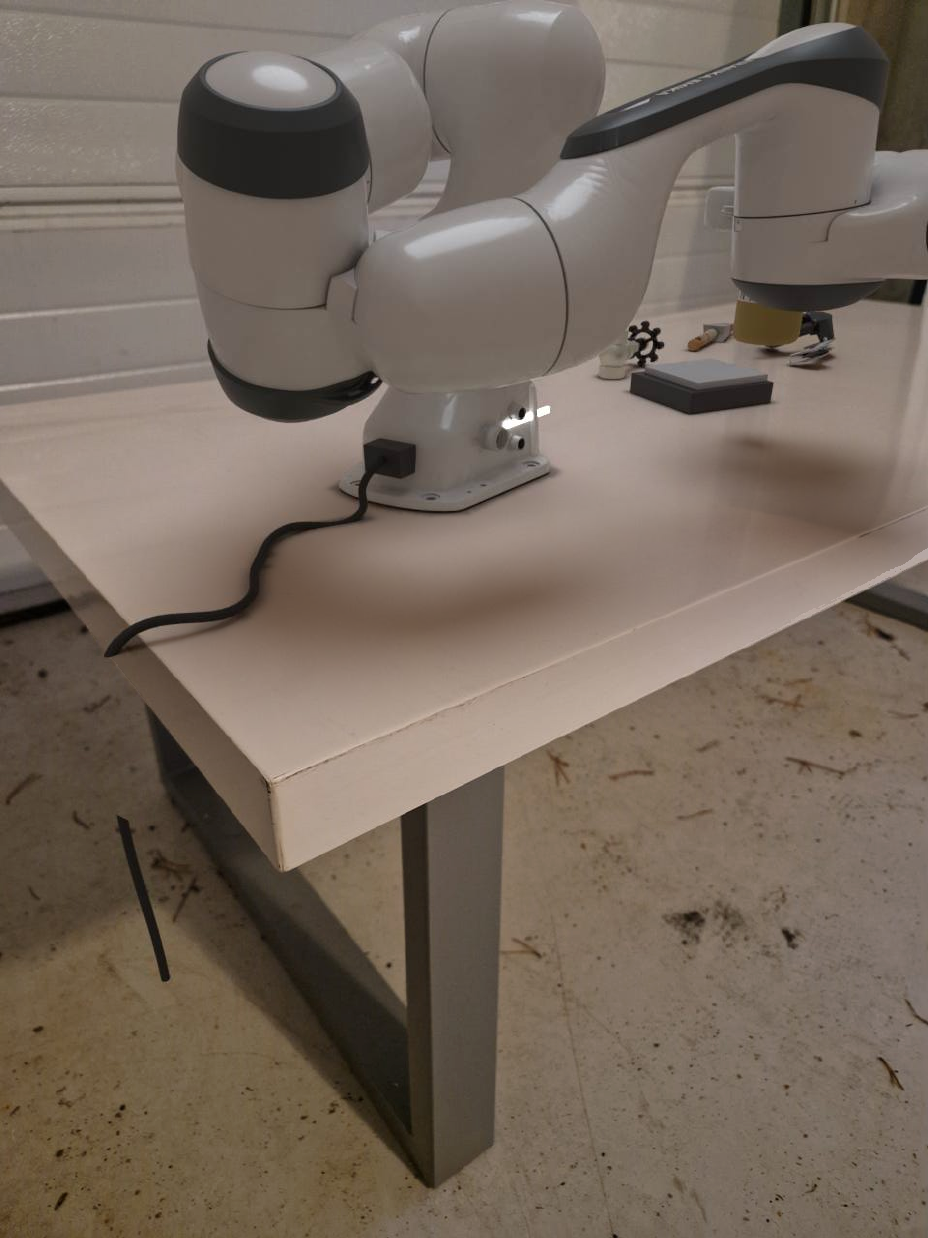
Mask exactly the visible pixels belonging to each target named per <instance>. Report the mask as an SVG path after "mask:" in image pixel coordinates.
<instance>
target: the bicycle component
mask: <svg viewBox="0 0 928 1238" xmlns="http://www.w3.org/2000/svg"><path fill="white" fill-rule="evenodd" d="M807 335H809V336H810V337H811V336H817V339H818V341H817V342H816V343H812V344H809V345H806V346H804V347H803V350H801V351H797V352H794V353H791V354H788V356H789V358H792V357H795V356H799V355H804V354H805V355H804V356H801V358H800V359H803V360H801V361H797V362H793V363H792V360H791V359H789V364H790V366H792V365H796V364H799V363H808V362H811V361H814V360H819V359H821V358H824V357H826V356H828V355H829V354H830V352H832V351H833V350H834V349H836V348H837V346H831V345H832V343H833V342H834V341H835V340H837V337H835V330H834V322H833V314H832V313H829V312H826V311H816V312H805V313H803V317H802V323H801V328H800V334H799V337H798V338H802V337H804V336H807ZM763 346H764V347H766V348H768V349H769V350H774V349H776V348H780V347H782V346H784V345H774V346H767V345H763Z"/></svg>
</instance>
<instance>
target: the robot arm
mask: <svg viewBox="0 0 928 1238" xmlns="http://www.w3.org/2000/svg"><path fill="white" fill-rule="evenodd" d="M890 69H891V62H890V60H889V58H888V57H887V55H886V53H885V52H884V50H883V49H882V47H881V46H880V45H879V43H878V42H877V41H876V39H875V38H874V37H873V36H872V35H871V33H869V32H868V31H867V29H866V28H864V27H863V25H861V24H859V25H858V24H857V25H854V24H851V23H848V22H838V21H837V22H822V23H817V24H812V25H811V24H810V25H807V26H803V27H801V28H797V29H794V30H791V31H789V32H787V33H785V34H783V35H781V36H778V37H777V38H775V39H774V40H772V41H770V42H768V43H767V44H766V45H763V47H761V48H760V49H757V50H755V51H752V52H750V53H748V54H746V55H743V56H742V57H739V58H737V59H735V60H733V61H731V62H728V63H726V64H723V65H721V66H718V67H716V68H713V69H710V70H707V71H705V72H702V73H700V74H697V75H694V76H692V77H690V78H687V79H684V80H682V81H678V82H676V83H674V84H672V85H668V86H666V87H663V88H661V89H659V90H658V89H657V90H656V91H653V92H650V93H648V94H646V95H645V94H644V95H643V96H641V97H638V98H636V99H635V98H634V99H633V100H630V101H628V102H627V103H623V104H622V105H619V106H617V107H615V108H612V109H610V110H607V111H606V112H603V113H600V114H598V113H599V110H600V108H601V105H602V102H603V98H604V93H605V88H606V74H607V73H606V72H607V71H606V58H605V52H604V48H603V44H602V41H601V38H600V35H599V33H598V31H597V30H596V27H595V25H594V23H593V22H592V20H591V19H590V17H589V16H588V15H587V13H586V12H585V11H584V10H582V9H581V7H580V8H579V7H578V6H576V5H571V4H565V3H560V2H555V1H548V0H503V1H496V2H489V3H482V4H475V5H467V6H463V7H462V6H461V7H454V8H453V7H452V8H445V9H439V10H431V11H424V12H418V13H410V14H405V15H404V14H403V15H398V16H394V17H392V18H390V19H388V20H385V21H382V22H380V23H377V24H376V25H373V26H371V27H369V28H367V29H365V30H363V31H361V32H359V33H357V34H355V35H353V36H352V37H351V38H350V39H349V40H348V41H347V43H345V44H343V45H340V46H337V47H334V48H331V49H328V50H325V51H322V52H319V53H317V54H314V55H311V56H308V57H302V56H300V55H295V54H291V53H286V52H283V51H277V50H269V49H268V50H267V49H258V50H257V49H256V50H241V51H234V52H229V53H224V54H220V55H218V56H215V57H213V58H211V59H209V60H207V61H206V62H205V63H203V64H202V66H201V67H200V68H199V69H198V70H197V72H195V74H194V75H193V76H192V77H191V79H190V80H189V82H188V83H187V84H186V85H185V87H184V88H183V90H182V92H181V97H180V102H179V106H178V116H177V130H176V148H175V158H174V171H175V178H176V182H177V187H178V191H179V194H180V197H181V199H182V202H183V211H184V224H185V225H184V227H185V236H186V246H187V253H188V261H189V265H190V268H191V269H192V272H193V275H194V276H193V277H194V281H195V288H196V292H197V297H198V301H199V306H200V311H201V315H202V319H203V322H204V326H205V330H206V333H207V336H208V338H207V344H206V347H207V354H208V357H209V360H210V363H211V366H212V369H213V372H214V374H215V377H216V378H217V381H218V384H219V385H220V387H221V389H222V391H223V392H224V394H225V396H226V397H227V399H228V400H229V401H230V402H231V403H232V404H233V405H234V406H236V407H237V408H239V409H241V410H242V411H244V412H246V413H249V414H251V415H254V416H257V417H259V418H261V419H264V420H267V421H271V422H275V423H283V424H297V423H298V424H299V423H307V422H310V421H314V420H319V419H321V418H324V417H328V416H330V415H334V414H336V413H338V412H340V411H343V410H344V409H346V408H348V407H349V406H353V405H355V404H358V403H360V402H362V401H364V400H365V399H367V398H369V397H370V396H372V395H373V394H374V393H375V392H376V391H377V390H378V389H379V388H380V387H381V385H382V384H383V383H384V384H385V385H387V386H388V387H387V388H386V390H385V391H384V393H383V395H382V396H381V398H380V399H379V401H378V402H377V405H375V407H374V409H373V410H372V412H371V413H370V415H369V416H368V418H367V419H366V420H365V422H364V425H363V431H362V447H361V449H362V450H361V451H362V453H361V454H362V455H361V457H362V460H361V461H360V462H358V464H356V465H355V466H354V467H352V468H351V469H349V470H348V471H347V472H345V473H344V474H343V475H341V476H340V477H339V481H338V487H339V489H341V491H343V492H345V493H346V494H348V495H350V496H352V497H355V498H358V502H359V506H358V509H357V510H356V511H355V512H354V513H353V514H351V515H350V516H349V517H346V518H344V519H339V520H335V521H334V520H333V521H311V520H310V521H307V520H306V521H294V522H289V523H286V524H283V525H282V526H280V527H277V528H276V529H275V530H273V531H271V532H270V533H269V534H268V535H267V536H266V537H265V538H264V540H263V541H262V543H261V545H260V547H259V549H258V552H257V554H256V555H255V558H254V560H253V561H252V563H251V565H250V569H249V587H248V590H247V593H246V594H245V595H244V597H242V599H240V600H239V601H237V602H235V603H234V604H232V605H230V606H227V607H224V608H220V609H215V610H207V611H206V610H205V611H194V612H178V613H177V612H176V613H167V614H161V615H160V614H159V615H155V616H152V617H147V618H144V619H142V620H139V621H137V622H134V623H133V624H131V625H129V626H128V627H126V628H125V629H123V630H122V631H121V632H120V633H119V634H118V635H116V636H115V638H113V640H112V641H111V643H110V644H109V645H108V646H107V648H106V649H105V652H104V654H103V657H104V658H108V659H109V658H112V657H115V656H116V655H118V654H119V652H121V650H122V648H123V647H124V646H125V645H126V644H127V643H128V642H129V641H130V640H132V639H133V638H134V637H137V636H138V635H140V634H141V633H143V632H146V631H148V630H151V629H154V628H159V627H165V626H172V625H173V626H174V625H184V624H185V625H186V624H200V623H211V622H217V621H224V620H226V619H229V618H234V617H235V616H237V615H238V614H241V613H243V612H244V611H245V610H246V609H248V608H249V607H250V606H251V605H252V604H253V603H254V602H255V601H256V599H257V598H258V596H259V591H260V572H261V569H262V567H263V565H264V563H265V561H266V559H267V557H268V554H269V552H270V549H271V547H272V545H273V544H274V542H276V541H277V540H278V539H280V538H282V537H283V536H286V535H287V534H289V533H291V532H294V531H305V530H317V529H322V528H328V527H335V526H341V525H346V524H352V523H356V522H358V521H360V520H361V519H362V518H363V517H364V516H365V514H366V513H367V511H368V507H369V506H368V505H369V502H372V503H377V504H381V505H385V506H390V507H396V508H403V509H409V510H416V511H418V510H419V511H430V512H456V511H461V510H464V509H467V508H469V507H471V506H474V505H476V504H478V503H480V502H483V501H485V500H487V499H491V498H493V497H495V496H497V495H500V494H501V493H504V492H507V491H509V490H511V489H513V488H516V487H518V486H521V485H523V484H525V483H527V482H530V481H532V480H534V479H536V478H539V477H541V476H543V475H546V474H548V473H550V471H551V466H550V460H549V459H548V458H547V457H545V456H544V455H541V453H540V437H539V435H540V434H539V418H540V417H543V416H544V415H547V414H550V410H551V409H550V408H551V406H549V405H546V406H543V407H540V408H538V391H537V387H536V386H535V384H534V382H533V380H537V379H540V378H544V377H548V376H551V375H555V374H558V373H561V372H562V373H563V372H565V371H567V370H568V371H569V370H571V369H573V368H576V367H579V366H581V365H583V364H585V363H587V362H590V361H591V360H594V359H596V358H598V357H599V355H600V354H602V353H603V352H605V351H606V350H607V349H609V348H610V347H611V346H612V345H613V344H614V343H616V341H617V340H618V339H619V338H620V337H621V336H622V335H623V333H624V332H625V331H626V330H628V329H629V327H630V326H631V323H632V321H633V320H634V318H635V316H636V315H637V312H638V311H639V309H640V307H641V304H642V303H643V300H644V298H645V295H646V292H647V289H648V287H649V283H650V279H651V275H652V271H653V265H654V260H655V255H656V250H657V246H658V240H659V236H660V232H661V228H662V224H663V220H664V217H665V214H666V210H667V206H668V202H669V200H670V197H671V194H672V191H673V189H674V186H675V183H676V181H677V179H678V176H679V174H680V172H681V171H682V168H683V167H684V165H685V163H686V162H687V161H688V159H689V158H690V157H691V156H692V155H693V154H694V153H695V152H697V151H699V150H700V149H702V148H706V147H707V146H710V145H712V144H715V143H717V142H718V141H721V140H724V139H726V138H729V137H731V136H733V135H734V141H735V155H734V156H735V157H734V158H735V159H734V185H720V186H719V185H717V186H712V187H711V188H709V189H708V191H707V194H706V197H705V203H704V211H703V212H704V213H703V226H704V228H705V229H706V230H707V231H713V232H714V231H715V232H721V233H722V232H723V233H731V251H730V253H731V255H730V273H731V274H730V275H731V277H730V280H731V282H732V283H733V284H734V286H735V287H736V288H737V289H739V290H740V291H741V292H742V293H743V294H745V295H746V296H747V297H749V298H750V299H751V300H753V301H754V302H756V303H757V304H759V305H761V306H764V307H768V308H773V309H778V310H784V311H793V312H803V313H807V312H826V311H832V310H837V309H841V308H844V307H849V306H851V305H854V304H856V303H858V302H859V301H861V300H863V299H864V298H866V297H868V296H870V295H871V294H873V293H874V292H876V291H877V290H878V289H880V288H881V287H882V286H883V285H884V284H885V283H886V282H887V279H898V280H899V279H900V280H928V148H927V149H911V150H910V149H909V150H906V151H902V152H897V151H893V150H876V148H877V138H878V131H879V129H878V128H879V121H880V116H881V115H882V111H883V106H884V100H885V96H886V89H887V84H888V78H889V73H890ZM444 161H449V169H448V174H447V178H446V182H445V185H444V189H443V191H442V193H441V195H440V198H439V199H438V201H437V203H436V204H435V206H433V208H431V209H429V210H428V211H426V212H425V213H424V214H422V215H421V216H420V217H419V218H418V219H417V220H416V221H415V222H413V223H410V224H407V225H406V226H403V227H400V228H399V229H396V230H394V231H389V230H384V229H383V230H382V229H377V228H376V229H374V231H373V240H372V243H371V244H370V232H369V231H370V230H369V229H370V228H369V227H370V225H369V217H370V216H373V215H374V214H376V213H378V212H379V211H382V210H384V209H385V208H387V207H389V206H391V205H392V204H395V203H397V202H399V201H401V200H403V199H404V198H406V197H408V196H409V195H411V194H412V193H414V191H415V190H416V189H418V187H419V186H420V184H422V182H423V180H424V179H425V176H426V174H427V171H428V168H429V164H430V163H435V162H444ZM376 378H377V380H376V381H375V382H373V380H375V379H376ZM372 382H373V383H372ZM115 816H116V820H117V821H116V822H117V825H118V831H119V833H120V834H119V835H120V838H121V843H122V847H123V850H124V854H125V858H126V862H127V866H128V869H129V872H130V876H131V878H132V882H133V886H134V889H135V892H136V895H137V898H138V901H139V902H138V903H139V904H140V908H141V911H142V914H143V918H144V920H145V924H146V927H147V931H148V934H149V938H150V941H151V945H152V949H153V952H154V956H155V960H156V964H157V968H158V972H159V976H160V980H161V982H163V983H167V982H168V981H169V982H170V980H171V974H170V969H169V964H168V961H167V956H166V953H165V949H164V945H163V941H162V937H161V933H160V930H159V927H158V923H157V920H156V916H155V913H154V909H153V906H152V902H151V899H150V896H149V893H148V890H147V886H146V883H145V879H144V875H143V872H142V869H141V866H140V865H141V864H140V862H139V859H138V855H137V854H138V853H137V850H136V847H135V843H134V838H133V834H132V831H131V827H130V820H129V819H126V818H125V817H122V816H121V815H118V814H116V815H115Z"/></svg>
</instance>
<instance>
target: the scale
mask: <svg viewBox="0 0 928 1238" xmlns="http://www.w3.org/2000/svg"><path fill="white" fill-rule="evenodd" d="M768 377H769V374H768V373H766V372H762V371H758V370H756V369H751V368H747V367H744V366H741V365H737V364H733V363H730V362H726V361H722V360H718V359H716V358H711V357H710V358H702V359H694V360H687V361H676V362H668V363H660V364H652V365H651V364H650V365H644V371H642V370H641V371H635V372H631V374H630V386H629V392H630V393H632V394H634V395H636V396H640V397H643V398H645V399H647V400H651V401H652V402H653V401H654V402H656V403H659V404H661V405H664V406H667V407H669V408H672V409H674V410H677V411H680V412H682V413H685V414H688V415H693V414H700V413H708V412H714V411H720V410H728V409H734V408H742V407H750V406H755V405H763V404H769V403H771V401H772V396H773V390H774V385H775V382H773V381H770V380H768Z"/></svg>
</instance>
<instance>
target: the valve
mask: <svg viewBox="0 0 928 1238" xmlns="http://www.w3.org/2000/svg"><path fill="white" fill-rule="evenodd" d="M650 325H651V322H650V321H649V320H644V321H641V322H640V326H641V328H638V325H636V324H633V325H629V326H628V328H627V329H626V331H625V332H624V333H623V335H622V336H621V337H620V338H619V339H618V340H617V341H616V343H614V344H613V345H612V346H611V347H610V348H609V349H607V350H606V351H605V352H603V353H602V354H600V355H599V356H598V360H599V363H600V364H599V366H598V367H599V368H598V377H599V378H601V379H603V380H604V379H605V380H621V379H624V377H626V368H627V366H626V365H625V364H626V362H627V361H628V360H634V359H635V358H636V359H637V360H638V361H637V362H636V364H637V366H638V367H643V366H646V364H647V359H649V362H650V363H655V362H657V361H658V360H659V355H658V354H657V353H656V352H657V350H658V351H661V350H663V349H664V348H665V345H666V344H665V343H664V341H662V340H661V341H659V340H658V336H660V334H662V329H661V328H660V327H659V326H658V327H654V328H652V329H650ZM629 333H631V334H630V335H629ZM641 333H644V334H647V335H648V336H649V337H648V338H646V337H638V336H639V334H641ZM637 337H638V338H637ZM651 342H652V348H651V350H650V351H649V352H648V353H646V354H643V353H641V352H644V351H646V350H647V349H648V348H649V347H650V343H651Z"/></svg>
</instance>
